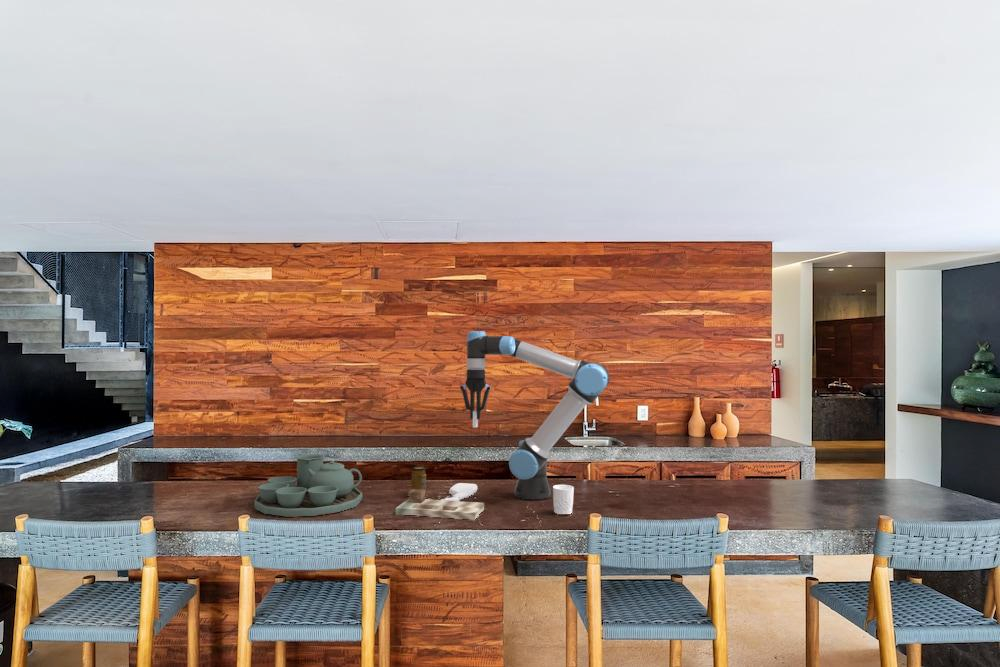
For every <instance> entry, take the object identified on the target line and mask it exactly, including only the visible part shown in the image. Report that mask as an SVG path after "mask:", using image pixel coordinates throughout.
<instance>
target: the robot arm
mask: <svg viewBox="0 0 1000 667" xmlns="http://www.w3.org/2000/svg"><path fill="white" fill-rule="evenodd" d="M486 334H487V333H486V331H484V330H482V331H481V330H477V331H476V330H470V331H468V332H467V338H466V368H467V369H466V380H465V382H464V384H462V385H460V386H459V388H460V390H461V391H462V396H463V402H464V405H465V409H466V410H468V411H470V413H469V415H470V416H469V417H470V420H472V428H475V429H476V428H478V427H479V420H480V419H481V411H483V410H485V409H486V405H487V402H488V397H489V393H490V392H491V390H492V386H491V385H488V384H487V382H486V370H485V369H486V355H487V356H489V355H494V356H497V355H499V356H501V355H502V356H509V357H512V358H516V359H519V360H521V361H523V362H526V363H528V364H532V365H533V366H536V367H539V368H542V369H546V370H548V371H550V372H553V373H556V374H558V375H561V376H564V377H566V378H568V379H569V378H570V379H571V381H570V382H569V384H568V391H567V392H566V394H565V395H564V396H563V397H562V399H561V400H560V401H559V402H558V403H557V405H556V406H555V408H554V409H553V410H552V411H551V412H550V414H549V415H548V416H547V417H546V419H544V421H543V423H542V424H541V425H540V426H539V428H538V429H537V430H536V431H535V433H534V434H533V435H532V436H531V437H526V438H525V439H523V440H519V441H518V442H519V443H518V448H517V449H516V450H515V451H513V453H511V455H510V457H509V460H508V465H509V466H508V467H509V470H510V472H511V473H512V475H513V476H514V477H516V478H517V480H516V481H517V482H516V483H515V487H514V490H513V492H514V494H513V495H515V496H516V497H515V496H514V497H515V498H517V497H518V498H517V499H520V498H522V499H521V500H525V499H543V498H547V497H549V496H550V495H551V489H550V485H549V481H548V477H547V472H548V471H547V465H548V462H547V460H548V459H549V457H550V450H551V449H552V448H553V446H554V445H555V444H557V442H558V441H559V439H560V438H561V437H562V436H563V434H564V433H565V432H566V431H567V429H568V428H569V427H570V425H572V423H573V422H574V421H575V419H577V416H578V415H580V414H581V412H582V411H583V409H584V408H585V407H586V405H592V404H593V403H594V402H595V401H596V399H597V398H598V397H599V396H600V395H601V393H602V392H603V391H604V390H605V389H606V388H607V387H608V385H609V382H610V374H609V371H608V369H607V368H606V367H605V366H604V365H602V364H600V363H595V362H590V361H586V360H583V359H580V360H576V359H573V358H570V357H568V356H565V355H561V354H559V353H556V352H553V351H551V350H548V349H545V348H542V347H539V346H536V345H534V344H531V343H528V342H526V341H523V340H520V339H516V338H515V337H513V336H510V335H509V336H508V335H494V336H493V335H486ZM467 388H468V390H469V394H470V395H469V394H468V391H467ZM483 389H484V394H483V398H482V391H483ZM475 393H476V394H475ZM469 396H470V398H469ZM475 397H476V398H475ZM469 399H470V400H469ZM475 399H476V400H475ZM475 401H476V403H475ZM481 401H482V402H481ZM475 404H476V405H475ZM475 406H476V407H475ZM475 408H476V409H475ZM550 497H551V496H550ZM547 499H548V498H547ZM543 500H544V499H543Z"/></svg>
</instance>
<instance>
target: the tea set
mask: <svg viewBox="0 0 1000 667" xmlns="http://www.w3.org/2000/svg"><path fill="white" fill-rule="evenodd" d="M325 456H326V455H325V454H322V453H305V454H300V455H297V456H295V458H296V459H297V462H296V463H297V464H296V477H295V476H287V475H286V476H283V475H282V476H274V477H270V478H268V479H267V483H263V484H260V485H259V486H258V487H257V489H258V490H259V494H258V495H257V496H256V498H255V500H254V501H253V502H254V504H253V507H254V509H255V510H256V511H257V512H259V511H260V513H261V512H262V514H263V513H264V514H263V515H265V514H272V515H281V516H313V515H319V514H326V513H334V512H340V511H343V512H345V511H344V510H346V511H348V510H347V509H349V510H351V509H350V508H352V509H355V508H356V507H357V506H358V505H359V504H360V503H361V502H362V500H363V492H362V491H360V490H359V489H358V486H359V485H360V484H361V482H362V478H363V476H362V473H361V472H360V470H359V469H357V468H351V469H348V468H345V465H344V464H343V463H340V462H335V461H333V460H331V461H330V462H326V463H324V458H325ZM352 472H355V473H357V475H358V480H357V482H356V483H354V482H355V481H354V475H353V473H352ZM360 501H361V502H360ZM354 507H355V508H354ZM340 513H341V512H340Z"/></svg>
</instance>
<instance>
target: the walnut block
mask: <svg viewBox="0 0 1000 667" xmlns="http://www.w3.org/2000/svg"><path fill="white" fill-rule="evenodd" d="M408 496H409V497H408V499H409V503H422V502H423V501H425V498H426V497H425V490H421V489H412V490H411V489H410V490H409V491H408Z"/></svg>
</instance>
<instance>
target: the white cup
mask: <svg viewBox="0 0 1000 667" xmlns="http://www.w3.org/2000/svg"><path fill="white" fill-rule="evenodd" d="M574 491H575V487H574V486H573V485H569V484H555V485H553V486H552V500H553V513H554V512H555V513H557V514H571V513H572V514H573V506H574Z"/></svg>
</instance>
